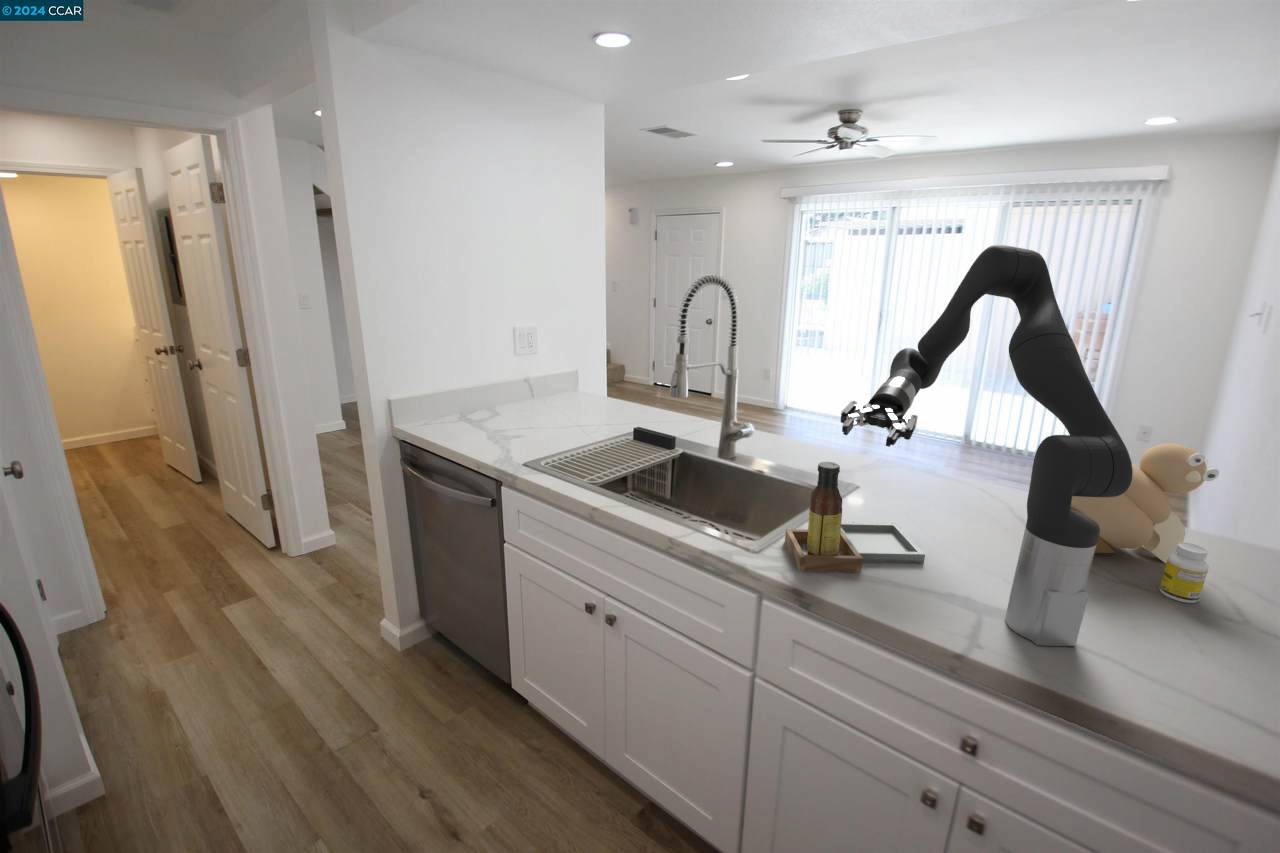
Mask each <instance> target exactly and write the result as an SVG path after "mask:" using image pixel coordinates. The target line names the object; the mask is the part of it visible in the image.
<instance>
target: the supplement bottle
mask: <svg viewBox="0 0 1280 853" xmlns="http://www.w3.org/2000/svg"><path fill="white" fill-rule="evenodd" d="M1207 556H1208V550H1207V549H1206V548H1204V547H1203V546H1200V545H1197V544H1194V543H1190V542H1189V543H1188V542H1183V543H1178V545H1177V548H1176V553H1173V554H1171V555H1170V556H1169V557H1168V560H1167V563H1165V564H1166V565H1165V567H1164V572H1163V575H1162V578H1161V582H1160V584H1159V588H1158V589H1159V591H1160V593H1161V594H1163V595H1164V596H1165V597H1167V598H1169V599H1171V600H1174V601H1178V602H1181V603H1187V604H1191V603H1192V604H1194V603H1195V604H1196V603H1197V602H1198V601H1199V599H1200V597H1201V593H1202V590H1203V588H1204V584H1205V581H1206V578H1207V574H1208V571H1209V567H1210V566H1209V564H1208V563H1207V561H1206V559H1207Z"/></svg>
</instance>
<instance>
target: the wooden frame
mask: <svg viewBox="0 0 1280 853" xmlns="http://www.w3.org/2000/svg"><path fill="white" fill-rule="evenodd" d="M807 539H808V529H795V528H791V529H789V528H787V529H785V537H784V543H785V545H786V547H787V550H788V552H789V553H790V556H791V557H792V559H793V561H794V564H795V566H796V567H797V569H798V572H821V573H822V572H823V573H825V572H826V573H827V572H828V573H862V569H863V568H862V567H863V563H864V562H863V558H862V556H861V555H860V554H859V552H858V551H857V550H856V548H855V547H854V545H853V544H852V543H851V541H850V540H849V539H848V537H847V536H846V534H845V533H844V532H843V530H841V532H840V545H839V550H840V551H841V552H842V554H843V555H839V554H838V555H808V554H805V553H804V551H803V549H802V548H801V546H800V545H806V546H807Z"/></svg>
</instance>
